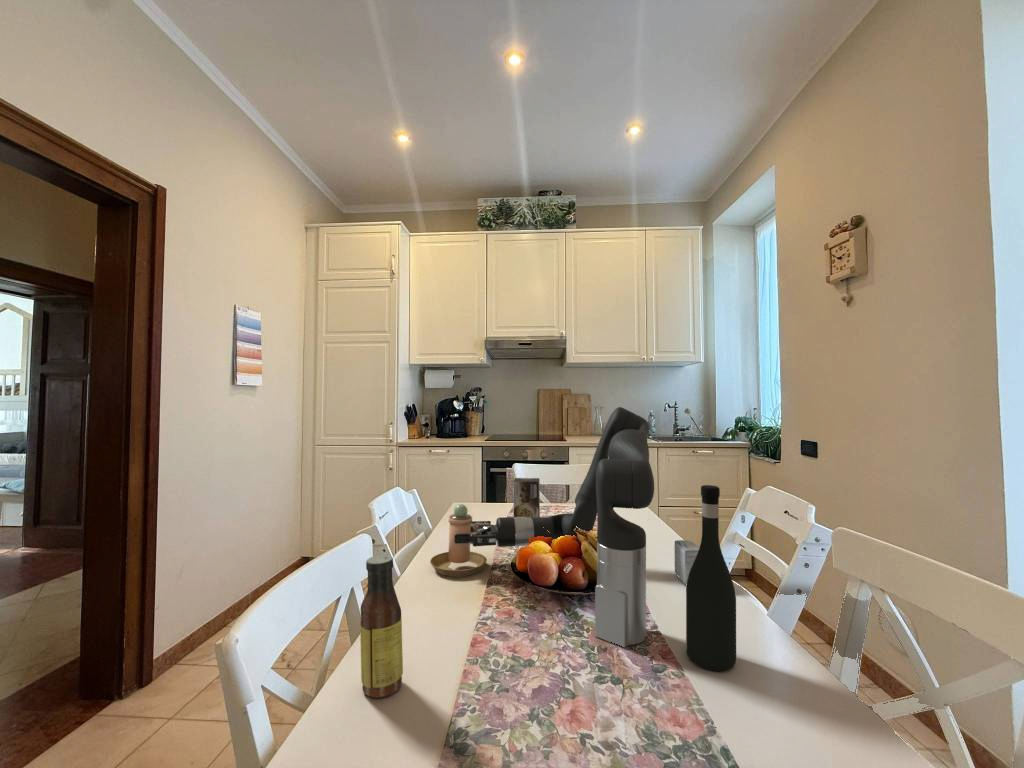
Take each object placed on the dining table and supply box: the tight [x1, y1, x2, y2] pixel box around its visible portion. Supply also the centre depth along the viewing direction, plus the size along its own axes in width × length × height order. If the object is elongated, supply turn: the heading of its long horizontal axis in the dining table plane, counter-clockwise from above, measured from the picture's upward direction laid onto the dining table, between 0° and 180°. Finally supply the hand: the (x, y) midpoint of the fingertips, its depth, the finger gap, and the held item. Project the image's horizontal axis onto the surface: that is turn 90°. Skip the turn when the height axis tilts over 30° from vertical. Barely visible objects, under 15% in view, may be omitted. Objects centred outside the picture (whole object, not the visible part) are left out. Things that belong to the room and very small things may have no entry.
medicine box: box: [674, 539, 700, 585], centre depth 116 cm, size 8×4×9 cm, turn 179°
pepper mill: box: [448, 503, 473, 564], centre depth 123 cm, size 6×6×14 cm
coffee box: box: [512, 477, 541, 517], centre depth 163 cm, size 9×6×16 cm
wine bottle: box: [685, 484, 737, 672], centre depth 81 cm, size 8×8×30 cm
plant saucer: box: [429, 551, 487, 578], centre depth 123 cm, size 15×15×3 cm
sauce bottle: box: [359, 554, 404, 699], centre depth 73 cm, size 7×6×20 cm
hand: (453, 533), depth 122 cm, fingers open, 8 cm apart
